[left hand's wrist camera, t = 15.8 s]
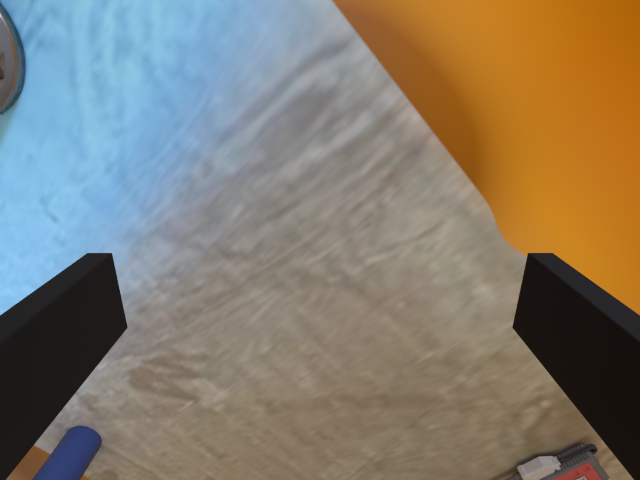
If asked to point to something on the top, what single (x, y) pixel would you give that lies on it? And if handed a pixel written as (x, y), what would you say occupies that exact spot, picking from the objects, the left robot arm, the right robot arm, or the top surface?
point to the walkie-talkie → (564, 466)
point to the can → (71, 455)
